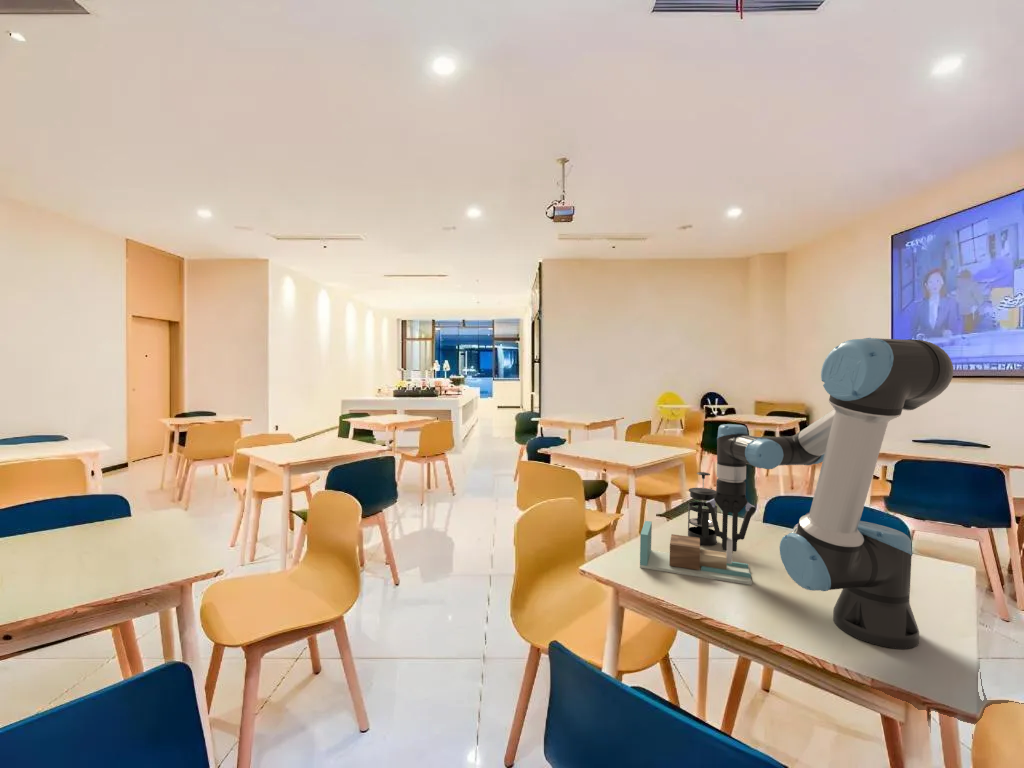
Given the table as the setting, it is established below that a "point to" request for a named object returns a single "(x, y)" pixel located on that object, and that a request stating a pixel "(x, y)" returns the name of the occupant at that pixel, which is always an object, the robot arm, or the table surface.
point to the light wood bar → (713, 559)
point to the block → (685, 552)
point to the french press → (702, 515)
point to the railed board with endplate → (662, 560)
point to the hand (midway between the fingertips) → (728, 561)
